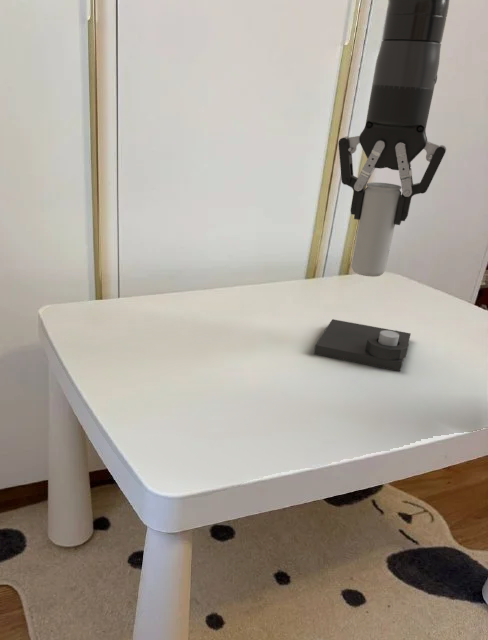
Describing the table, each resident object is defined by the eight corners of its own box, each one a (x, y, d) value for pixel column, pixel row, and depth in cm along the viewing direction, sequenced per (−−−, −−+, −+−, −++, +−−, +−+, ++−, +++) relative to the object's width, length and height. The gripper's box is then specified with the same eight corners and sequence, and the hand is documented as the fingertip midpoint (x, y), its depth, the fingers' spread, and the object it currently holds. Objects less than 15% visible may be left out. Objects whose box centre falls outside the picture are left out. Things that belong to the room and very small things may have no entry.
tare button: (398, 342, 89) (400, 332, 88) (395, 349, 87) (398, 338, 86) (379, 339, 90) (381, 328, 89) (376, 345, 88) (378, 335, 87)
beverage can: (379, 268, 93) (396, 183, 87) (389, 278, 89) (407, 189, 83) (347, 267, 93) (361, 181, 87) (355, 276, 88) (371, 187, 83)
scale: (410, 342, 96) (414, 323, 95) (401, 372, 86) (406, 352, 85) (330, 327, 100) (333, 309, 99) (313, 354, 90) (316, 335, 89)
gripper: (340, 79, 78) (320, 219, 86) (463, 87, 74) (429, 233, 82) (351, 80, 85) (331, 210, 93) (464, 86, 80) (433, 223, 88)
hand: (377, 220), depth 87 cm, fingers closed on beverage can, 5 cm apart
